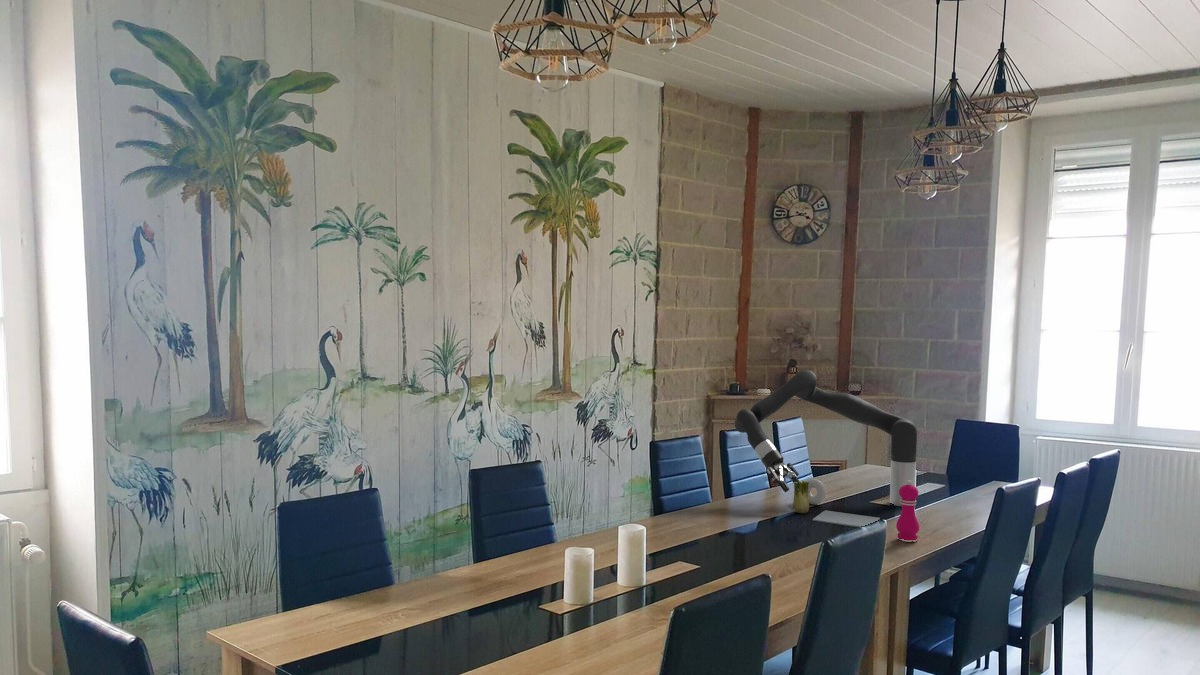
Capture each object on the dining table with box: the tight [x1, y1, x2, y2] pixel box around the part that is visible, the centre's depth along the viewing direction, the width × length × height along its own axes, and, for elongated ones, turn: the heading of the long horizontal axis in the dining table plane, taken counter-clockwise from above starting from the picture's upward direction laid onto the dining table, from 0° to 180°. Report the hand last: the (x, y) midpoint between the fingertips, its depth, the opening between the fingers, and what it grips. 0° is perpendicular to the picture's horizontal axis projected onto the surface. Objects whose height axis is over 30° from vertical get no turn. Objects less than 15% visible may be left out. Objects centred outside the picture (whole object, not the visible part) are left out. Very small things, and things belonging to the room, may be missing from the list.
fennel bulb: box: [792, 480, 810, 514], centre depth 313 cm, size 6×5×12 cm
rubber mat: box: [812, 509, 881, 528], centre depth 304 cm, size 16×20×1 cm
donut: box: [806, 478, 827, 506], centre depth 327 cm, size 10×4×10 cm, turn 47°
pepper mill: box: [895, 480, 920, 540], centre depth 278 cm, size 7×7×20 cm
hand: (793, 489), depth 315 cm, fingers open, 8 cm apart
